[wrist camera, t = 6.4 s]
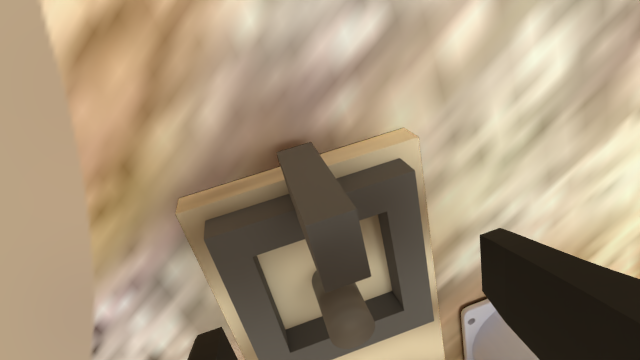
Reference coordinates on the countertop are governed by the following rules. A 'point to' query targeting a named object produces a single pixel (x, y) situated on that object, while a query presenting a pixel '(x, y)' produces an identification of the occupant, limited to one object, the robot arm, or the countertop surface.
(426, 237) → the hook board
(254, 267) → the dark grey frame stand
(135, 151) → the countertop surface
